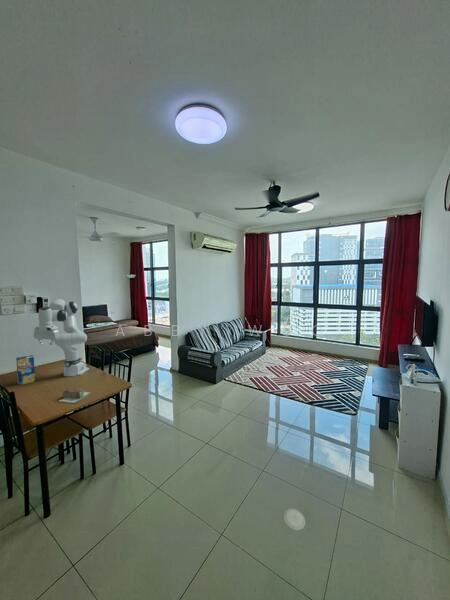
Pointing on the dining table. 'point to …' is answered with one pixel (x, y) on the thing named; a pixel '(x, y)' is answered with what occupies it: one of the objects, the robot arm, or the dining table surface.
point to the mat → (73, 400)
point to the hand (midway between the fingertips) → (46, 344)
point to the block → (73, 393)
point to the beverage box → (25, 369)
